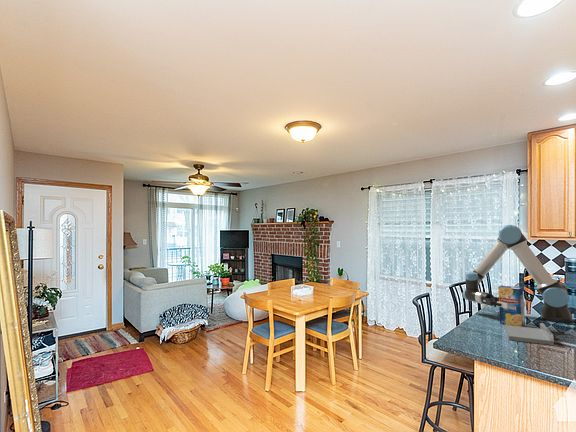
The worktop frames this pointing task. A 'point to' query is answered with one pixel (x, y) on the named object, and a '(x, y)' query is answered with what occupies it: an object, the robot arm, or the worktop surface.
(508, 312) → the beverage box
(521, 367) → the worktop surface
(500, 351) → the worktop surface
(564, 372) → the worktop surface
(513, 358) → the worktop surface
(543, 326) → the price rail
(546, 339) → the shelf board
